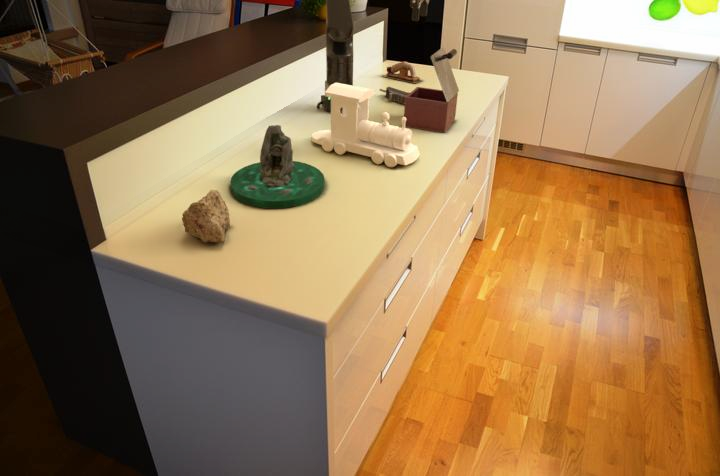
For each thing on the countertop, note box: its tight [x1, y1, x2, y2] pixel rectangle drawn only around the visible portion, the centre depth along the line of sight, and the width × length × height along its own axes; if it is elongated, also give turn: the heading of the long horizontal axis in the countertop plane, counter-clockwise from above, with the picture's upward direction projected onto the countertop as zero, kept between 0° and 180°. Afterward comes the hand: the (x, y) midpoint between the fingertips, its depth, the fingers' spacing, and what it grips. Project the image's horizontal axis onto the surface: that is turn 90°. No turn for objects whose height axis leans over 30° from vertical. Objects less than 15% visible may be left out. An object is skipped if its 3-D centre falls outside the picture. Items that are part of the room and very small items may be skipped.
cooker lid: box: [430, 46, 460, 102], centre depth 193 cm, size 15×13×6 cm
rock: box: [181, 189, 231, 243], centre depth 137 cm, size 11×12×10 cm
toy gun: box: [379, 86, 411, 105], centre depth 221 cm, size 3×32×15 cm
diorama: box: [229, 124, 326, 209], centre depth 156 cm, size 25×25×15 cm
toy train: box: [311, 83, 420, 168], centre depth 177 cm, size 12×35×19 cm, turn 60°
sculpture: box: [383, 61, 423, 84], centre depth 247 cm, size 7×16×7 cm, turn 58°
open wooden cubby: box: [403, 86, 459, 134], centre depth 201 cm, size 14×13×10 cm
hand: (419, 18), depth 196 cm, fingers open, 8 cm apart
